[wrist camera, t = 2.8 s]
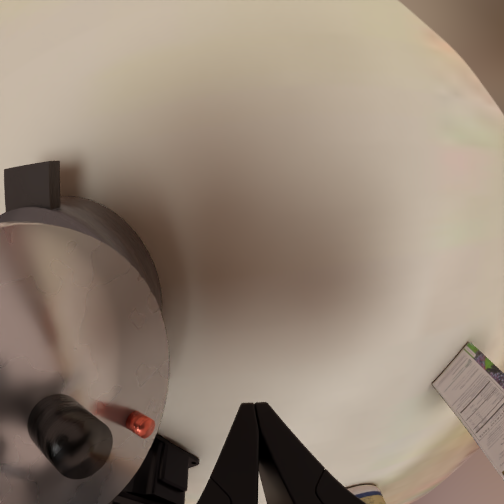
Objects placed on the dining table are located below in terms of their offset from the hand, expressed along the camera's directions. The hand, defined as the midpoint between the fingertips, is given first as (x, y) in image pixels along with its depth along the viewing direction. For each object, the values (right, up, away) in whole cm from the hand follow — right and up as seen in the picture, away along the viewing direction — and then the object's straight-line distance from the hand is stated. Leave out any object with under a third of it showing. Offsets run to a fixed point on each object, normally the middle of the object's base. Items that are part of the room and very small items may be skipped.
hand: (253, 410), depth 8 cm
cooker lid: (-7, 0, -2) cm, 7 cm away
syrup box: (+21, -7, +14) cm, 26 cm away
